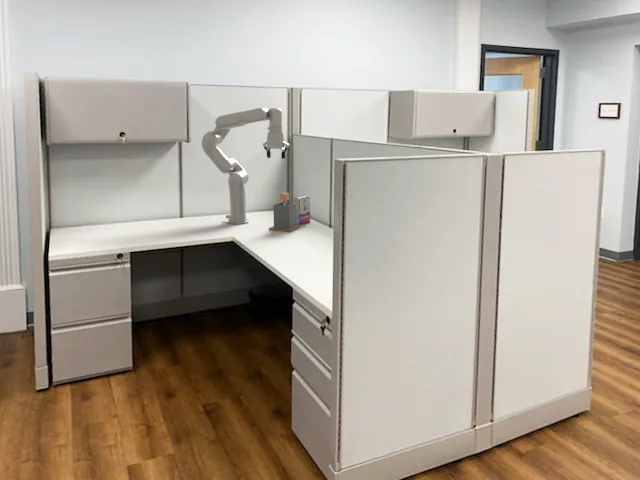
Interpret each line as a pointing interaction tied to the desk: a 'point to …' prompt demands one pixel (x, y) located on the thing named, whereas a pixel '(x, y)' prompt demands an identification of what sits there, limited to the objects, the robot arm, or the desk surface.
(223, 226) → the desk surface
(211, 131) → the robot arm
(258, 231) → the desk surface
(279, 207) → the press housing
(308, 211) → the candy bar box
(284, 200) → the plunger
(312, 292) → the desk surface
